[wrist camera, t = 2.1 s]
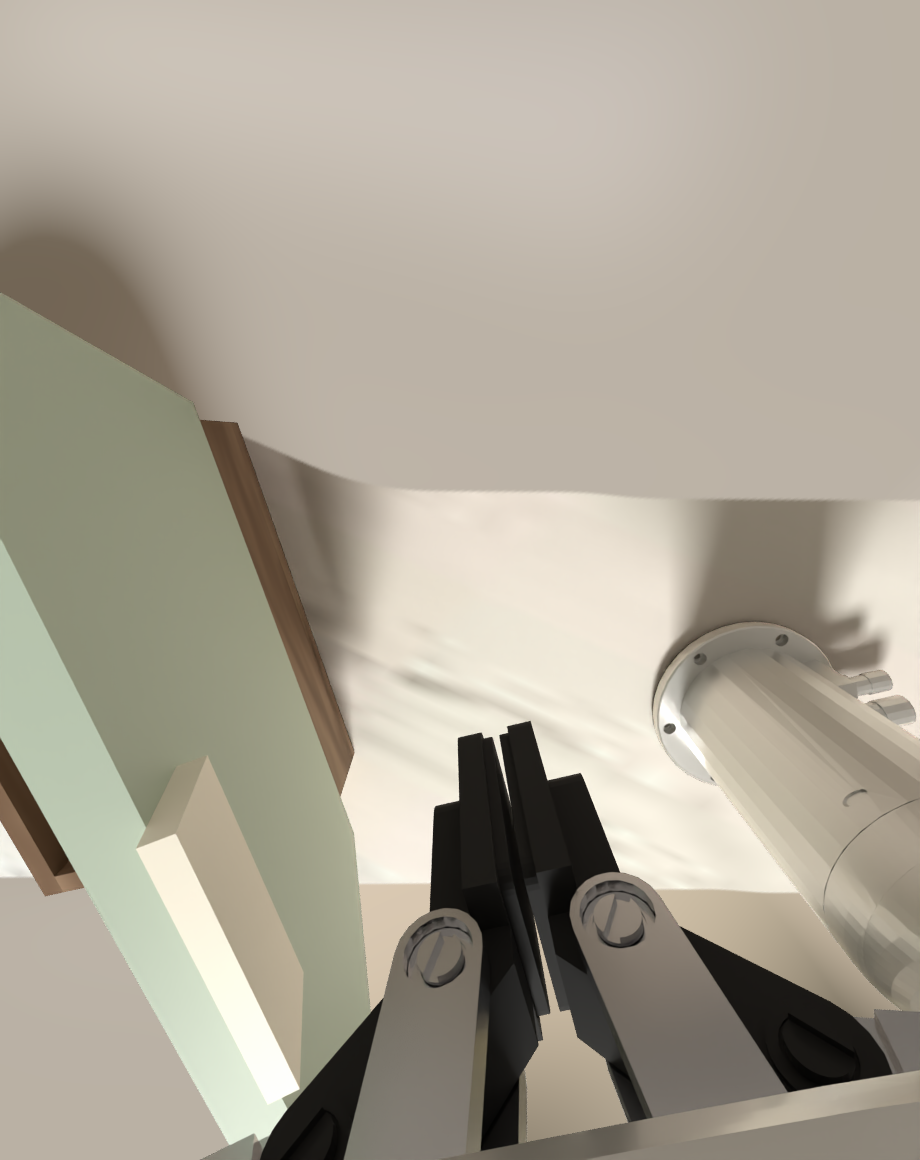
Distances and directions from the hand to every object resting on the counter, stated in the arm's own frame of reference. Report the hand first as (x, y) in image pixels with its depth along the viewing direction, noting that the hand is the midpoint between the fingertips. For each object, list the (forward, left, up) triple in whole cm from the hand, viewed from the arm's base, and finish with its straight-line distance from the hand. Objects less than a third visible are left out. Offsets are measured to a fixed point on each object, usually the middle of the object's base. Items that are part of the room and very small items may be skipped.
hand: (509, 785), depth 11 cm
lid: (+9, 0, -6) cm, 11 cm away
